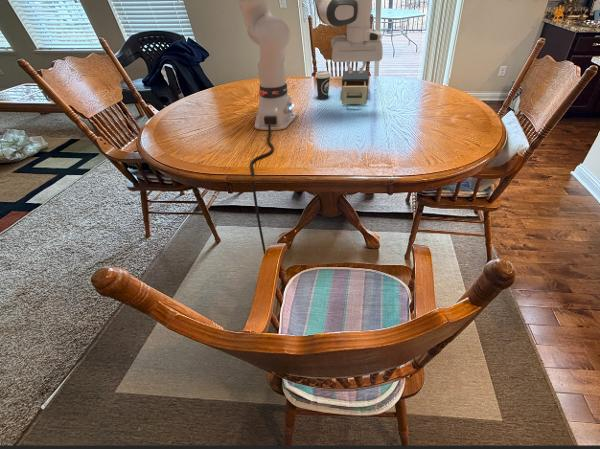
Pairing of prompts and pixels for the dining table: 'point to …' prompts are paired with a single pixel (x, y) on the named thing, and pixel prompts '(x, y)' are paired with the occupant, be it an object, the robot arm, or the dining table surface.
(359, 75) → the cabinet
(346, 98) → the drawer
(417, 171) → the dining table surface
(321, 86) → the coffee cup
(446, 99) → the dining table surface
